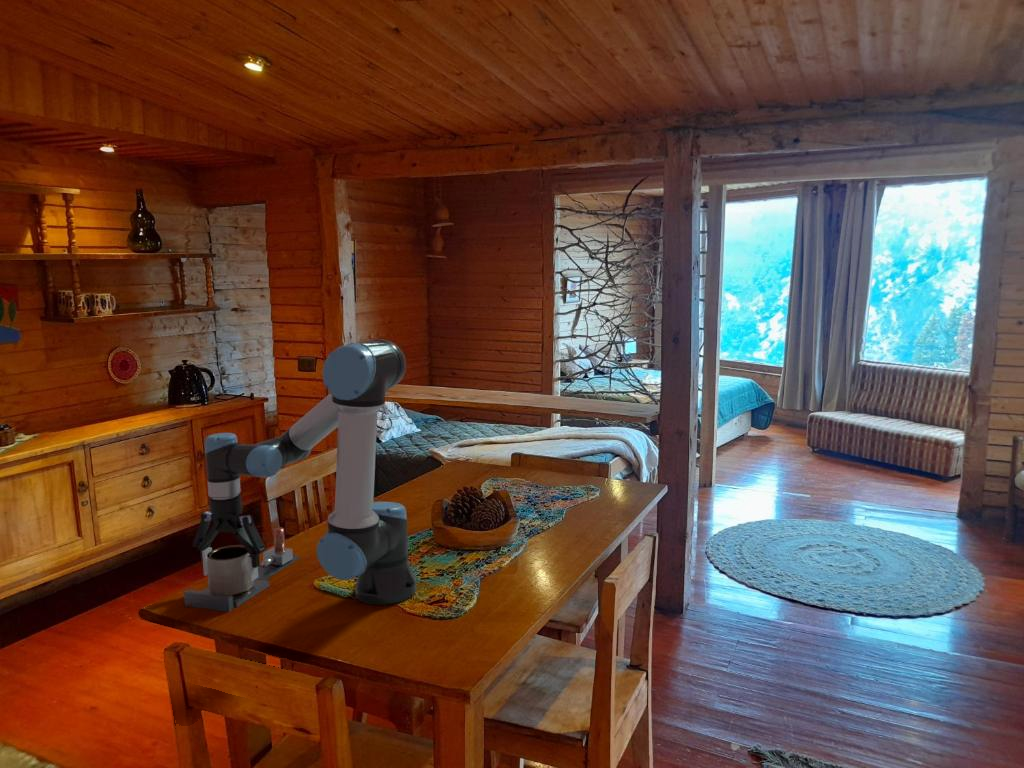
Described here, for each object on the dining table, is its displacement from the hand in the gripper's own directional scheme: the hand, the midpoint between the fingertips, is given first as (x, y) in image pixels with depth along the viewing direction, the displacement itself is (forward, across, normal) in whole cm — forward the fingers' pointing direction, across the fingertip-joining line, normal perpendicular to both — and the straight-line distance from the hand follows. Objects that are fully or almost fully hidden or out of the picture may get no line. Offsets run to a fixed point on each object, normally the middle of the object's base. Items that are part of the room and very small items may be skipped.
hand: (231, 576), depth 185 cm
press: (+4, 0, -8) cm, 9 cm away
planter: (+3, 0, 0) cm, 3 cm away
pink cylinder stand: (+3, 0, -18) cm, 18 cm away
